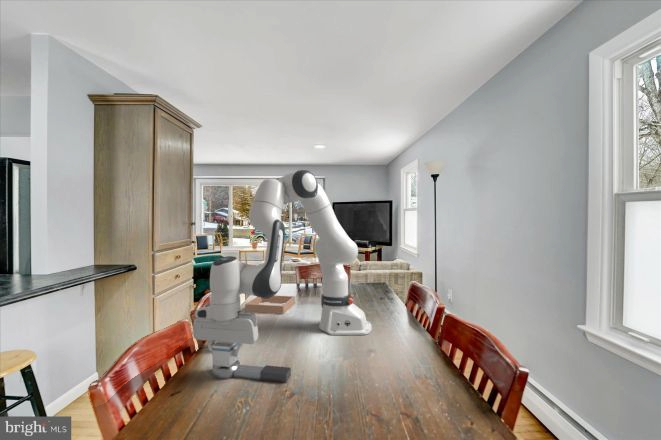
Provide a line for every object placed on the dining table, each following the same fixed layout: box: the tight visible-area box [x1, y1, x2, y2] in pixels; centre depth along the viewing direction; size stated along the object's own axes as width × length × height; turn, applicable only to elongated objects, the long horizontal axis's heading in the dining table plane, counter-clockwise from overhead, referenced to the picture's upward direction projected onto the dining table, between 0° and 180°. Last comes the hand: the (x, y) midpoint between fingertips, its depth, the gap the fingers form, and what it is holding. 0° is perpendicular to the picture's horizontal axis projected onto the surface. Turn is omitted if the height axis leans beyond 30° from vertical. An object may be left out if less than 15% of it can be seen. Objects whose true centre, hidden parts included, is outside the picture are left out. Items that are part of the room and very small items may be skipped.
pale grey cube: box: [211, 342, 240, 367], centre depth 98 cm, size 6×6×6 cm
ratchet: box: [211, 359, 292, 384], centre depth 96 cm, size 24×8×6 cm, turn 79°
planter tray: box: [244, 294, 296, 315], centre depth 166 cm, size 20×19×4 cm
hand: (225, 355), depth 98 cm, fingers closed on pale grey cube, 6 cm apart
